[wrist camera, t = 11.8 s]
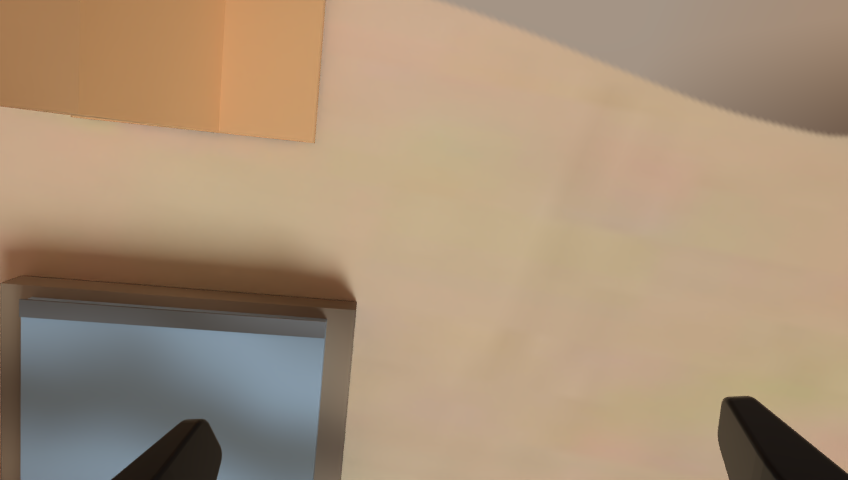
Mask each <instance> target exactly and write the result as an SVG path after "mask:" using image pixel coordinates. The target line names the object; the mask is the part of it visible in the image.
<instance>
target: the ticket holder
mask: <svg viewBox="0 0 848 480" xmlns="http://www.w3.org/2000/svg"><path fill="white" fill-rule="evenodd" d="M356 305H357V302H354V301H341V300H329V299H316V298H303V297H290V296H277V295H264V294H251V293H239V292H226V291H213V290H200V289H187V288H174V287H162V286H149V285H136V284H123V283H110V282H97V281H84V280H72V279H59V278H46V277H33V276H20V277H17V278H14V279H11V280H8V281H5V282H2V283H0V325H1V480H111V479H112V478H113V477H115V476H116V475H117V474H118V473H119V472H121V471H122V470H123V469H124V468H126V467H127V466H128V465H129V464H130V463H132V462H133V461H134V460H135V459H136V458H138V457H139V456H140V455H141V454H142V453H144V452H145V451H146V450H147V449H148V448H150V447H151V446H152V445H153V444H154V443H156V442H157V441H158V440H159V439H160V438H162V437H163V436H164V435H165V434H166V433H168V432H169V431H170V430H171V429H172V428H174V427H175V426H176V425H177V424H179V423H180V422H181V421H183V420H186V419H205V420H207V421H208V422H209V424H210V426H211V428H212V430H213V432H214V434H215V436H216V438H217V440H218V442H219V444H220V446H221V449H222V461H221V465H220V469H219V473H218V477H217V480H341V472H342V461H343V450H344V439H345V428H346V417H347V405H348V394H349V383H350V372H351V361H352V350H353V339H354V328H355V316H356Z"/></svg>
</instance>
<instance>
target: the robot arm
mask: <svg viewBox="0 0 848 480" xmlns="http://www.w3.org/2000/svg"><path fill="white" fill-rule="evenodd" d="M718 442H719V446H720V450H721V453H722V457H723V460H724V464H725V467H726V470H727V474H728V477H729V480H848V474H847V473H846V472H845V471H844V470H843V469H841V468H840V467H839V466H838V465H836V464H835V463H834V462H833V461H831V460H830V459H829V458H828V457H826V456H825V455H824V454H823V453H822V452H820V451H819V450H818V449H817V448H815V447H814V446H813V445H812V444H810V443H809V442H808V441H807V440H806V439H804V438H803V437H802V436H801V435H799V434H798V433H797V432H796V431H794V430H793V429H792V428H791V427H789V426H788V425H787V424H786V423H785V422H783V421H782V420H781V419H780V418H778V417H777V416H776V415H775V414H773V413H772V412H771V411H770V410H768V409H767V408H766V407H765V406H764V405H762V404H761V403H760V402H759V401H757V400H756V399H755V398H753V397H750V396H735V397H726V398H724V399H723V401H722V404H721V411H720V419H719V426H718ZM221 461H222V449H221V446H220V444H219V442H218V440H217V438H216V436H215V434H214V432H213V430H212V428H211V426H210V424H209V422H208V421H207V420H205V419H186V420H183V421H181V422H180V423H179V424H177V425H176V426H175V427H174V428H172V429H171V430H170V431H169V432H168V433H166V434H165V435H164V436H163V437H162V438H160V439H159V440H158V441H157V442H156V443H154V444H153V445H152V446H151V447H150V448H148V449H147V450H146V451H145V452H144V453H142V454H141V455H140V456H139V457H138V458H136V459H135V460H134V461H133V462H132V463H130V464H129V465H128V466H127V467H126V468H124V469H123V470H122V471H121V472H119V473H118V474H117V475H116V476H115V477H113V478H112V479H111V480H217V477H218V473H219V469H220V465H221Z"/></svg>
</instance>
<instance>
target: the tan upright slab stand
mask: <svg viewBox="0 0 848 480" xmlns="http://www.w3.org/2000/svg"><path fill="white" fill-rule="evenodd" d="M325 2H326V0H0V106H3V107H11V108H19V109H27V110H35V111H43V112H51V113H59V114H67V115H71V117H76V118H84V119H94V120H103V121H113V122H122V123H131V124H141V125H150V126H160V127H169V128H178V129H188V130H197V131H207V132H216V133H225V134H235V135H244V136H254V137H263V138H272V139H282V140H291V141H301V142H310V143H315V134H316V121H317V108H318V94H319V81H320V68H321V55H322V42H323V29H324V15H325Z"/></svg>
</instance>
